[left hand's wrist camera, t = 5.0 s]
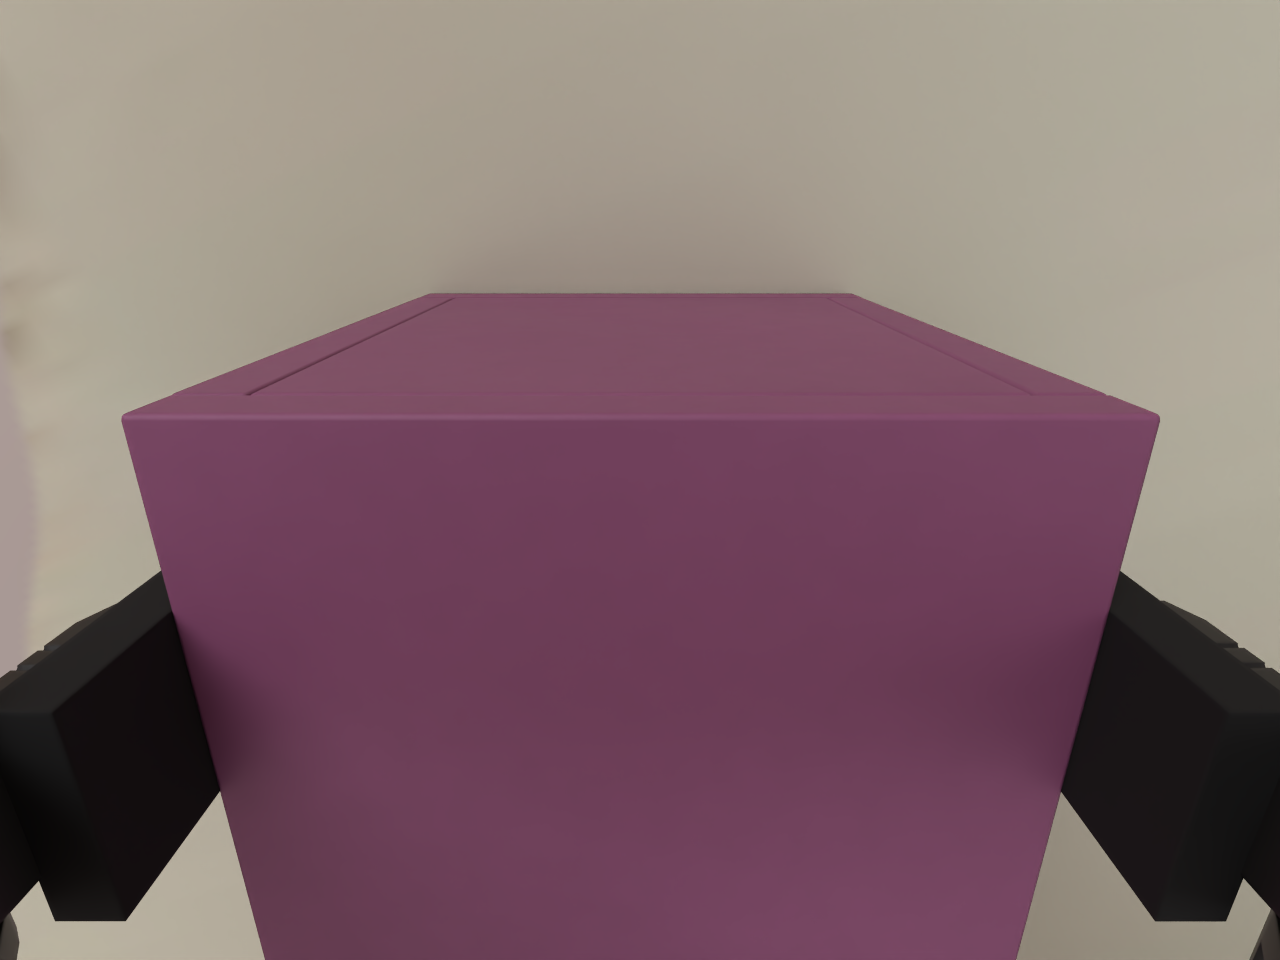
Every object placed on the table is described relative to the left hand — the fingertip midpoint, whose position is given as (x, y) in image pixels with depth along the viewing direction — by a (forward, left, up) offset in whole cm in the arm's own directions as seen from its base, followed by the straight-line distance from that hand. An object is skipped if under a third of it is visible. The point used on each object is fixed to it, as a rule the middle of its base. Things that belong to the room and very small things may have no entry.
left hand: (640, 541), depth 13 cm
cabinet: (+4, 0, -7) cm, 8 cm away
